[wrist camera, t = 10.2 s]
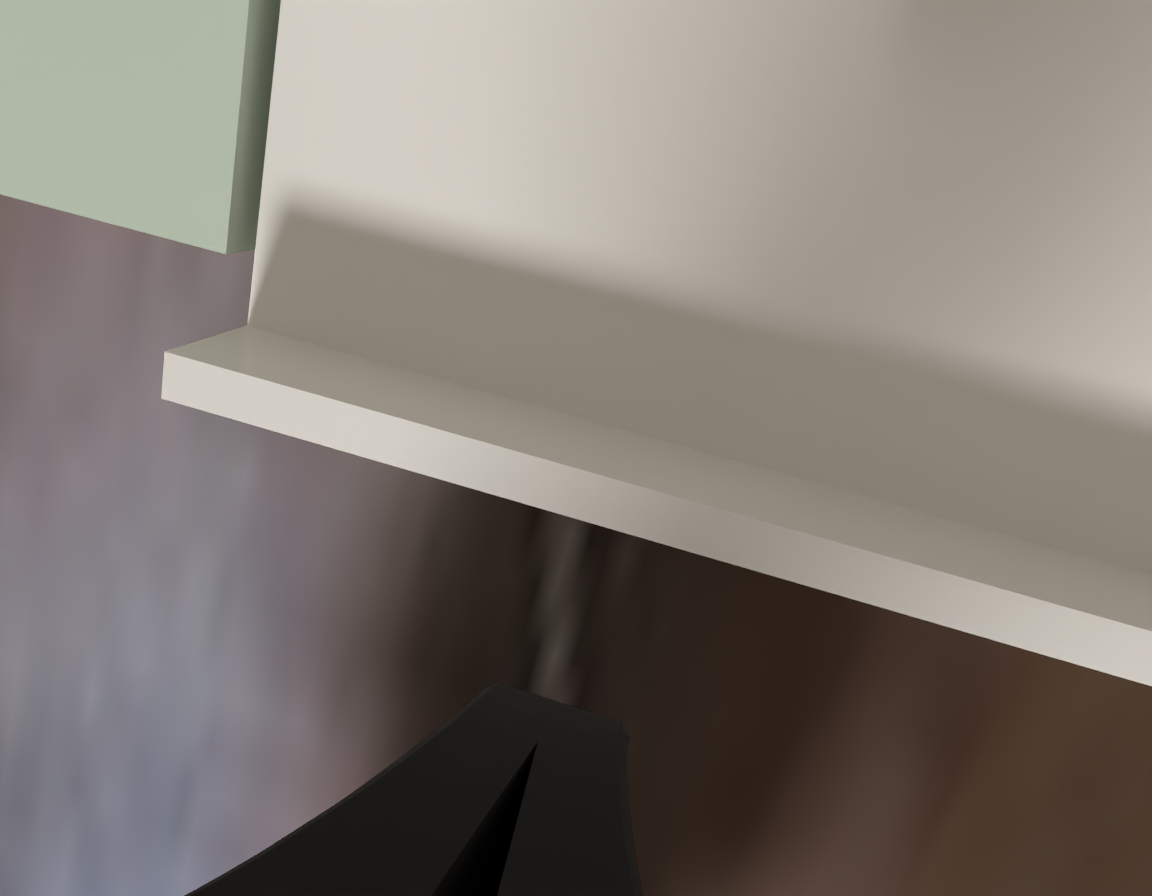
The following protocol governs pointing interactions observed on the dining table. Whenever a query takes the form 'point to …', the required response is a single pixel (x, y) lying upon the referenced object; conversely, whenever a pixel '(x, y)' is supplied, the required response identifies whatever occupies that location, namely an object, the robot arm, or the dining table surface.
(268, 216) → the box
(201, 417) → the dining table surface
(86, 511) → the dining table surface
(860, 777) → the dining table surface
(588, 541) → the dining table surface
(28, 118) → the cover plate
